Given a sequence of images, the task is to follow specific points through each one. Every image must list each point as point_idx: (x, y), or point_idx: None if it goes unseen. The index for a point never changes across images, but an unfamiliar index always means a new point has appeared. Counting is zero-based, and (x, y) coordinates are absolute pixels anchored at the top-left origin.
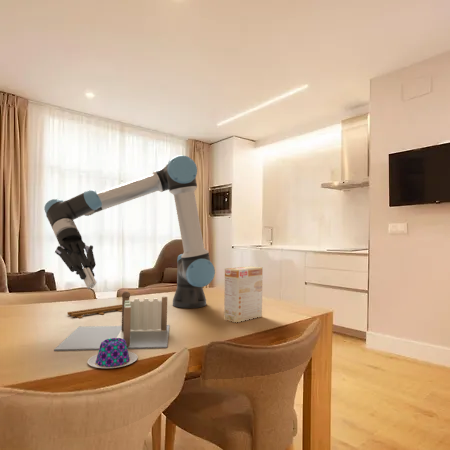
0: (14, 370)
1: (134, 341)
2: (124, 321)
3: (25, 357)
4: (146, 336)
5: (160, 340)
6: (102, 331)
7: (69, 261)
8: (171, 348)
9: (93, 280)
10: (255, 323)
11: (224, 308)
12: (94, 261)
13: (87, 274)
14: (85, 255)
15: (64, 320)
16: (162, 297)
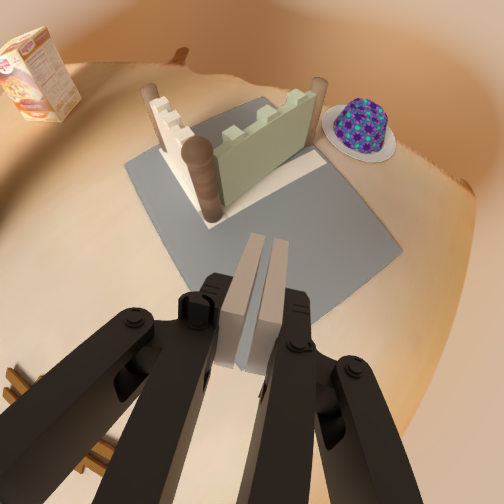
0: (464, 230)
1: None
2: (321, 107)
3: (442, 268)
4: None
5: (239, 116)
6: None
7: (393, 433)
8: (260, 93)
9: (262, 242)
10: (82, 83)
11: (52, 107)
12: (94, 339)
13: (278, 277)
14: (116, 461)
15: (201, 472)
16: (154, 88)
